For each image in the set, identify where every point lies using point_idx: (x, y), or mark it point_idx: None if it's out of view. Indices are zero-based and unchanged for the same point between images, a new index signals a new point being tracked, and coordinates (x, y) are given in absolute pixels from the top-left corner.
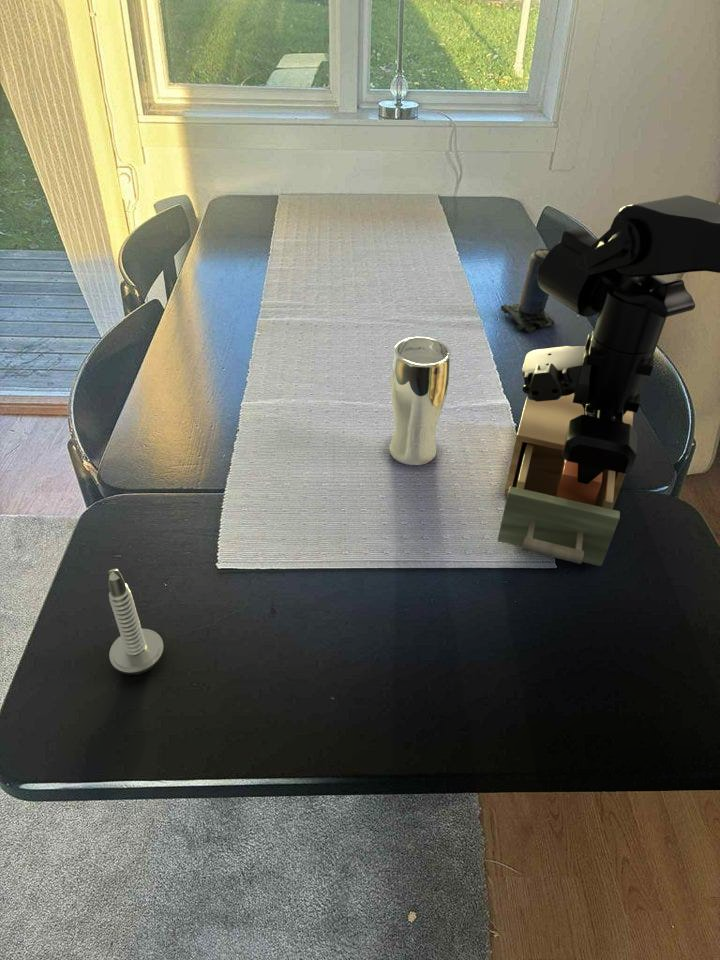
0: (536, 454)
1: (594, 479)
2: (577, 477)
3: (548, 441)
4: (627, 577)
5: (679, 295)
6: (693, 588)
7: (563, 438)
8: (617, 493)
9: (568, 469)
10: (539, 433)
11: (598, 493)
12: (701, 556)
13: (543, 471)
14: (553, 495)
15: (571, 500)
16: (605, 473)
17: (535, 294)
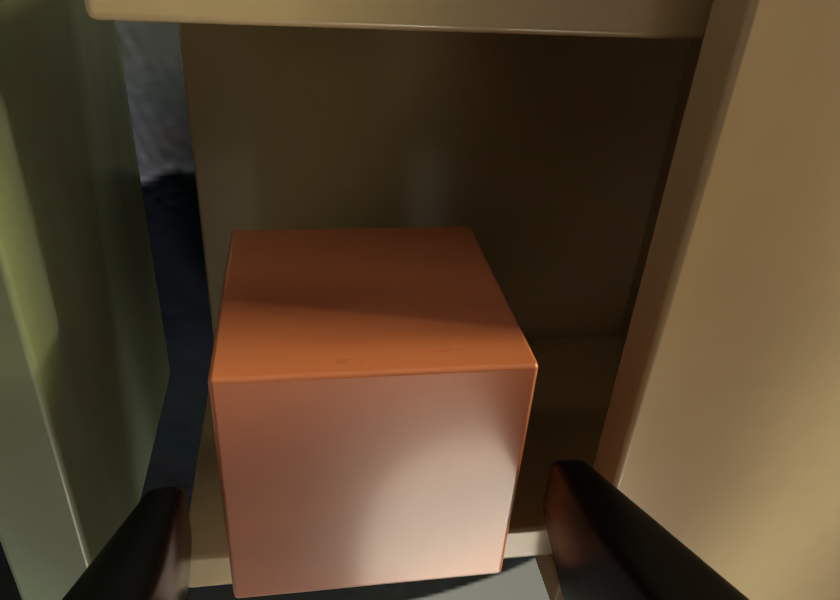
0: None
1: (249, 564)
2: (122, 524)
3: (702, 192)
4: (158, 437)
5: None
6: (208, 586)
7: (752, 302)
8: None
9: (294, 408)
10: (823, 96)
11: None
12: (363, 590)
13: (681, 80)
14: (487, 155)
15: (40, 412)
16: (531, 470)
17: None
